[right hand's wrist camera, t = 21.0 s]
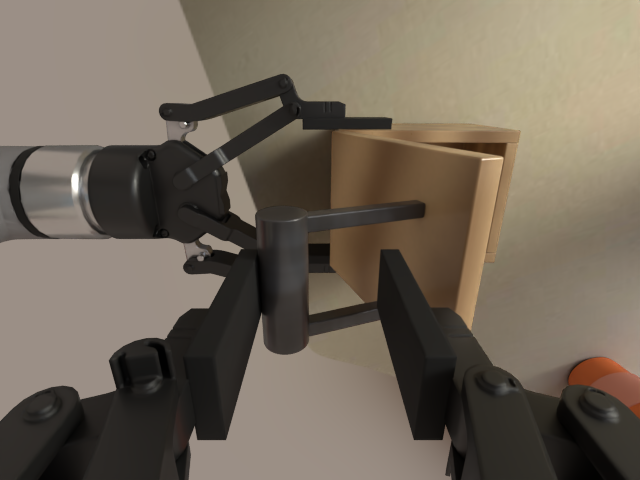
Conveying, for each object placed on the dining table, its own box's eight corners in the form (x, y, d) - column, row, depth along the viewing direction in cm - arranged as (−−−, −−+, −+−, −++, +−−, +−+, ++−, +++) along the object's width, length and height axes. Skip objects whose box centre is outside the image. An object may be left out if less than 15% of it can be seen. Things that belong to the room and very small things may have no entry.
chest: (471, 123, 33) (521, 130, 24) (455, 226, 36) (494, 262, 28) (335, 123, 33) (338, 130, 25) (333, 225, 37) (335, 261, 28)
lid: (505, 156, 12) (271, 171, 10) (462, 379, 16) (284, 437, 13) (346, 130, 24) (219, 134, 21) (342, 263, 28) (234, 281, 25)
